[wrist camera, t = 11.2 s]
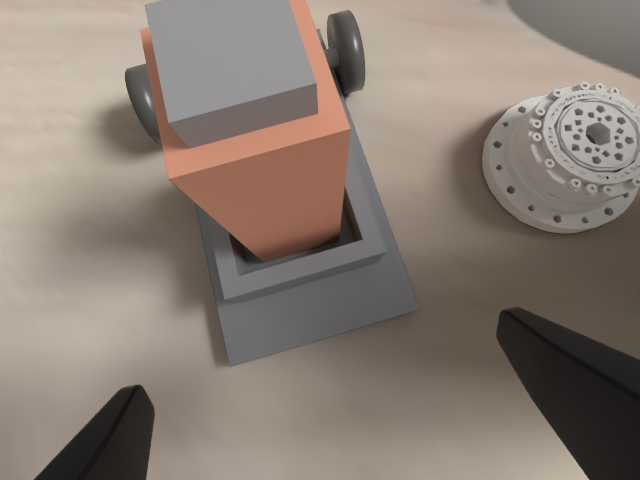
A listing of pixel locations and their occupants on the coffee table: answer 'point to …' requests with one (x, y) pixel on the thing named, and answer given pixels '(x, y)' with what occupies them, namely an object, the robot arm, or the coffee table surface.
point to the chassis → (312, 265)
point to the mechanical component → (566, 158)
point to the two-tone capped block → (250, 119)
